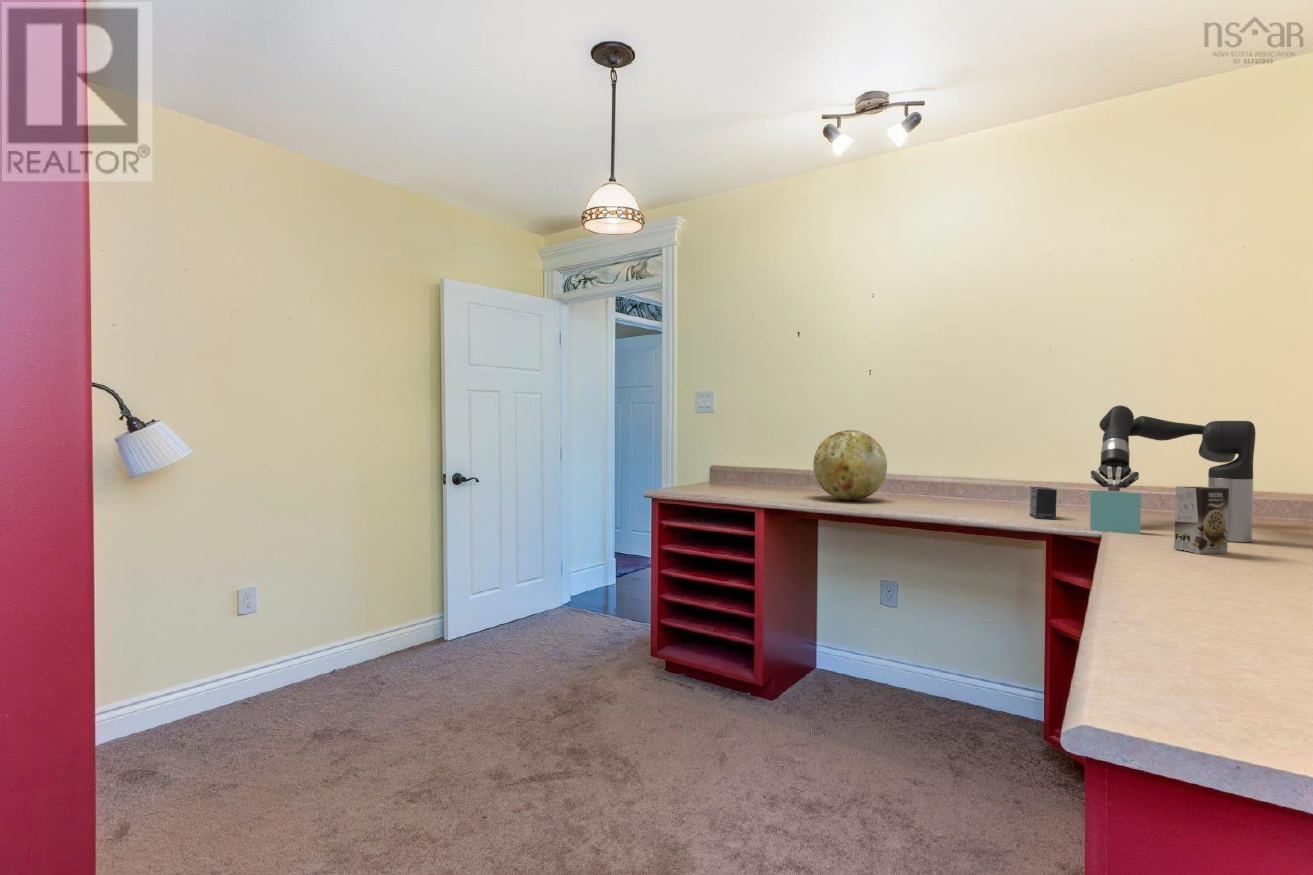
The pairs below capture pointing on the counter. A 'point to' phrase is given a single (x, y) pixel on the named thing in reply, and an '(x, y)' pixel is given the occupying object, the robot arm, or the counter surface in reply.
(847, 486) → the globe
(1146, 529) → the counter surface
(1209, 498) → the coffee box
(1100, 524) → the tile
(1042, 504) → the small box
